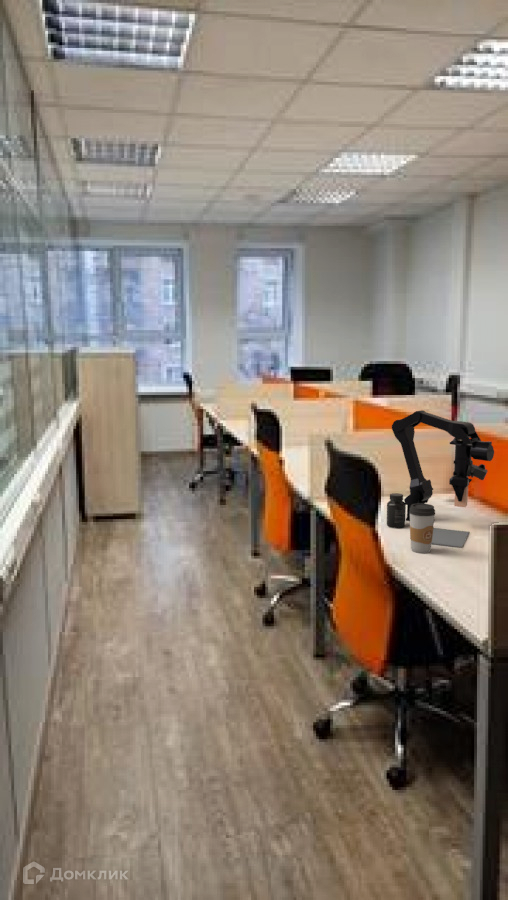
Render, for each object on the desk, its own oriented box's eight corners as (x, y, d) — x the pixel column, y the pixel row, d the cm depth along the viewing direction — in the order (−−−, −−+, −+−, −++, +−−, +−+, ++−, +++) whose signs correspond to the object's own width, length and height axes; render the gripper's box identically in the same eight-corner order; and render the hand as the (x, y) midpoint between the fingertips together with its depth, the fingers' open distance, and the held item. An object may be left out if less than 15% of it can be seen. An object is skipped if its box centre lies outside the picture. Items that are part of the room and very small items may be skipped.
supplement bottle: (406, 524, 252) (408, 493, 250) (402, 529, 246) (404, 497, 244) (388, 522, 255) (389, 491, 253) (384, 527, 249) (385, 495, 247)
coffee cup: (419, 555, 217) (421, 510, 214) (402, 548, 224) (404, 504, 221) (439, 552, 221) (441, 507, 218) (421, 545, 228) (423, 501, 225)
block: (454, 506, 244) (455, 484, 243) (455, 503, 248) (456, 482, 246) (465, 507, 243) (466, 485, 241) (467, 504, 246) (468, 483, 245)
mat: (422, 543, 230) (422, 542, 230) (432, 528, 247) (432, 527, 247) (461, 548, 225) (461, 546, 224) (469, 532, 242) (469, 531, 241)
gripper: (483, 463, 231) (481, 508, 233) (489, 455, 247) (487, 496, 250) (450, 461, 235) (448, 505, 238) (457, 452, 252) (456, 493, 254)
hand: (460, 500), depth 245 cm, fingers closed on block, 4 cm apart
